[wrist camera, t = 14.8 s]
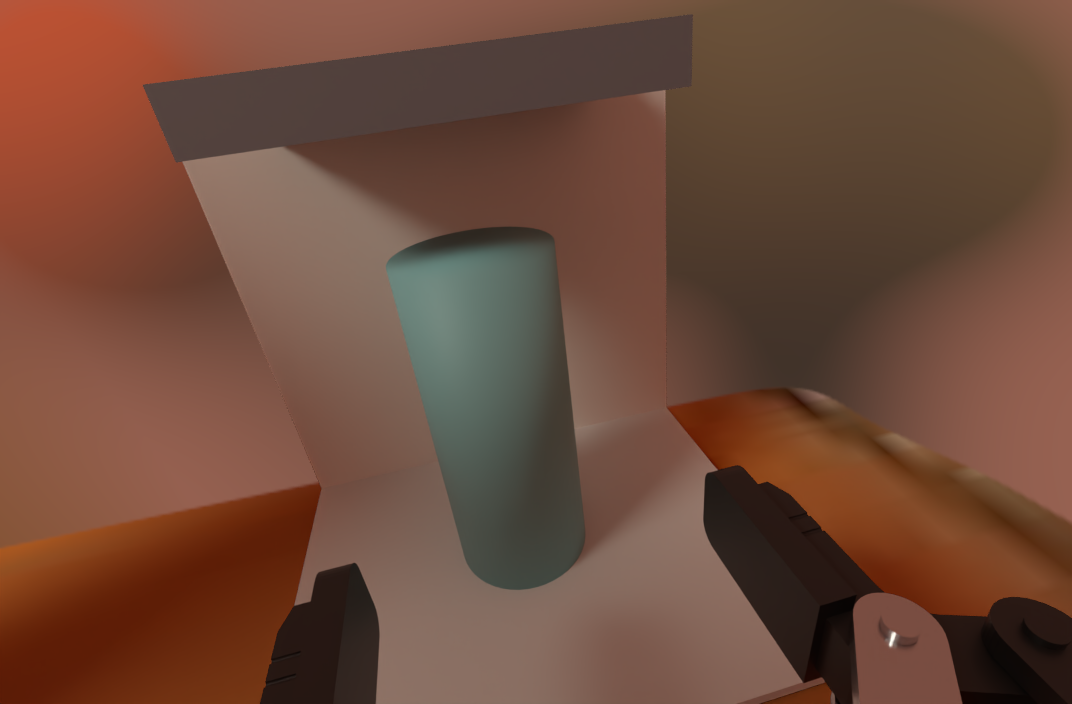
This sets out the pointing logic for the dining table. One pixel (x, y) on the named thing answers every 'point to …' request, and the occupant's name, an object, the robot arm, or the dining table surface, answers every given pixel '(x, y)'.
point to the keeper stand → (387, 373)
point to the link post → (496, 396)
